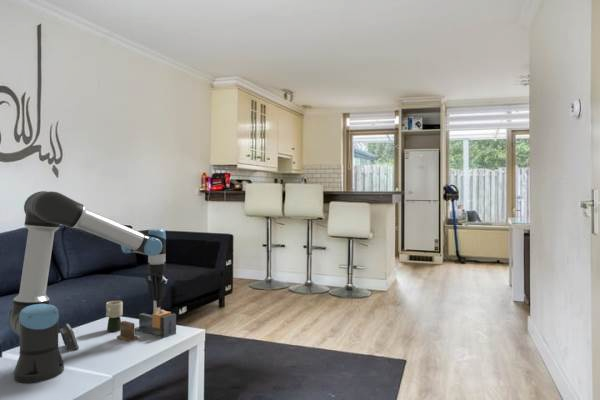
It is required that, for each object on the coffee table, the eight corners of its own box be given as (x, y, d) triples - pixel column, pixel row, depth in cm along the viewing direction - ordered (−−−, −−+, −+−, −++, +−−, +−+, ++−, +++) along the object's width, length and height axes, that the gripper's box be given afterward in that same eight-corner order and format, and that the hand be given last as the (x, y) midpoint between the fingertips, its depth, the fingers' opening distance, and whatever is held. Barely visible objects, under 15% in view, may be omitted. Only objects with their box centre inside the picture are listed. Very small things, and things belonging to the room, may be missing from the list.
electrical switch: (79, 349, 174) (76, 327, 174) (65, 353, 171) (62, 331, 170) (74, 343, 182) (72, 322, 181) (61, 347, 178) (58, 325, 178)
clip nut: (159, 328, 190) (159, 312, 190) (152, 326, 193) (152, 311, 193) (171, 325, 196) (171, 309, 196) (163, 323, 198) (163, 307, 198)
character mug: (112, 326, 205) (112, 299, 205) (127, 326, 204) (127, 299, 204) (100, 333, 194) (100, 305, 194) (116, 334, 193) (116, 305, 193)
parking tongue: (128, 341, 184) (128, 325, 183) (116, 338, 188) (116, 322, 188) (138, 338, 188) (138, 322, 188) (126, 335, 192) (126, 319, 192)
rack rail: (163, 338, 189) (163, 317, 188) (134, 330, 199) (134, 311, 199) (176, 333, 194) (176, 314, 194) (147, 326, 205) (147, 307, 205)
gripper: (173, 263, 195) (173, 314, 196) (154, 260, 202) (154, 310, 203) (160, 265, 189) (160, 318, 189) (140, 262, 196) (140, 313, 196)
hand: (156, 314), depth 196 cm, fingers closed
